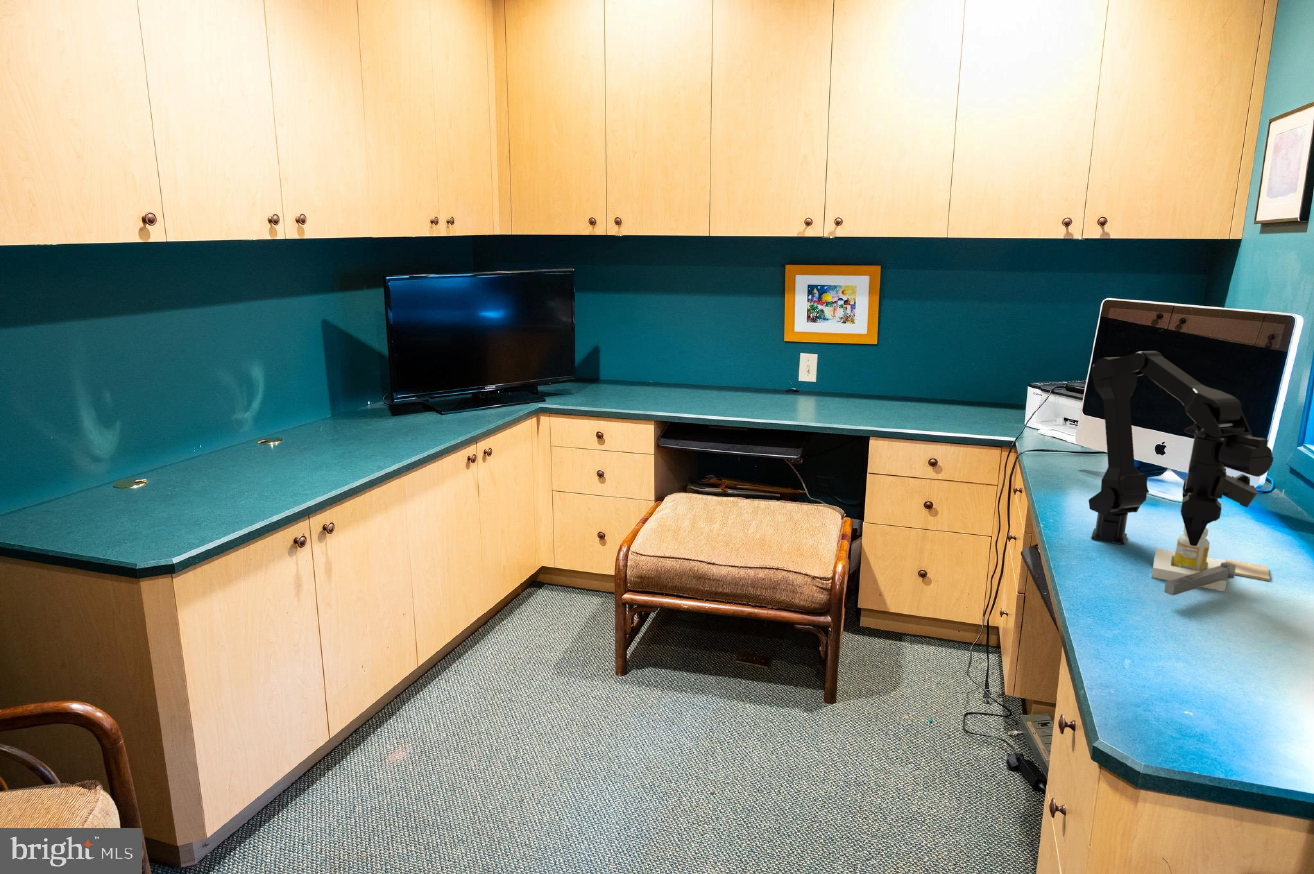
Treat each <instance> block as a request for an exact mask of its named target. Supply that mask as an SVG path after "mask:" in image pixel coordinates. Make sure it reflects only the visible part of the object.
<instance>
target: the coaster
mask: <svg viewBox="0 0 1314 874" xmlns="http://www.w3.org/2000/svg"><path fill="white" fill-rule="evenodd" d="M1225 562H1226V563H1231V564H1234V565H1236V569H1235V574H1234V576H1235V575H1236V576H1240V577H1246V578H1250V579H1251V578H1252V579H1257V580H1262V581H1267V582H1270V580H1271V577H1270V573H1269V567H1268V566H1267V565H1261V564H1255V563H1251V562H1250V563H1248V562H1243V561H1239V560H1233V559H1228V558H1226V559H1225Z"/></svg>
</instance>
